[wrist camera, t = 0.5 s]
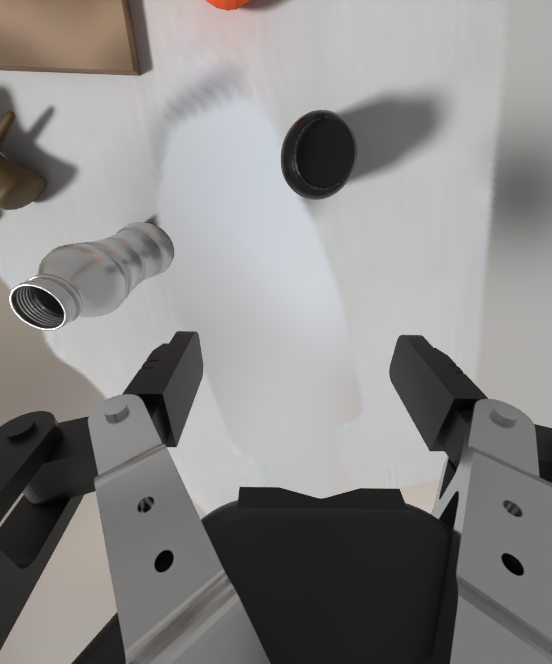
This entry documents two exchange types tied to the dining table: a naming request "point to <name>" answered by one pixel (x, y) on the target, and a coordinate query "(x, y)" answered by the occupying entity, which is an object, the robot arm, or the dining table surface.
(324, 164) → the supplement bottle
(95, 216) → the dining table surface
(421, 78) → the dining table surface
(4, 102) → the dining table surface
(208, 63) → the dining table surface
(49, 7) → the walnut base plate
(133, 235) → the plastic bottle
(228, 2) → the clementine
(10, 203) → the kendama
